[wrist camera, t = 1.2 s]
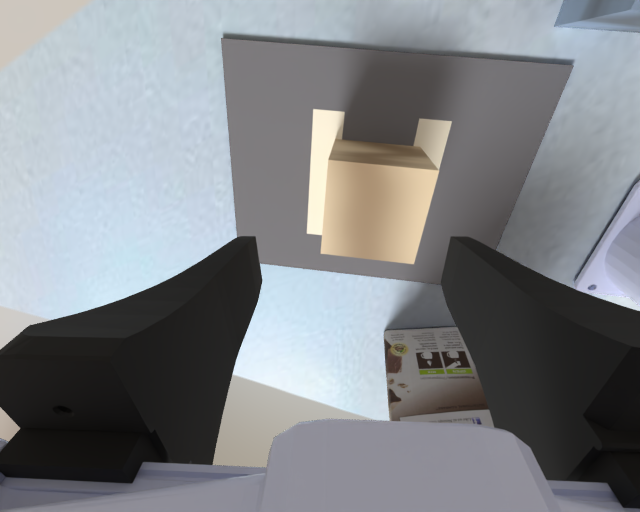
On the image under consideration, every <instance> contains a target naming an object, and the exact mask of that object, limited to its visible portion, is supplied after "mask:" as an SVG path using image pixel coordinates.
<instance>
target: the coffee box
mask: <svg viewBox="0 0 640 512" xmlns="http://www.w3.org/2000/svg"><path fill="white" fill-rule="evenodd" d="M384 346H385V364H386V377H387V392H388V406H389V418H390V421H404V422H432V423H460V424H478V425H483V426H488V427H493V428H494V425H493V421H492V418H491V414H490V411H489V408H488V405H487V401H486V398H485V395H484V392H483V389H482V386H481V383H480V380H479V377H478V374H477V371H476V368H475V366H474V363H473V360H472V358H471V355H470V353H469V351H468V349H467V347H466V345H465V343H464V340H463V338H462V336H461V334H460V332H459V330H458V328H457V327H443V328H424V329H404V330H387V331H385V332H384Z"/></svg>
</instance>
